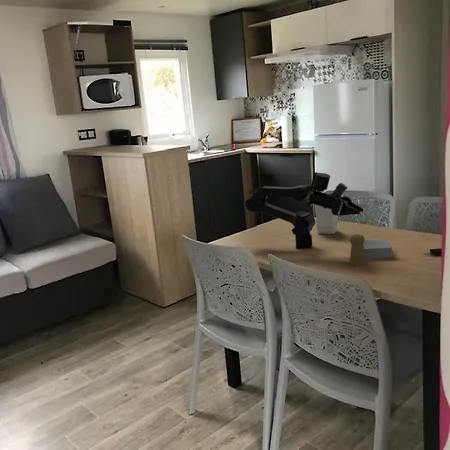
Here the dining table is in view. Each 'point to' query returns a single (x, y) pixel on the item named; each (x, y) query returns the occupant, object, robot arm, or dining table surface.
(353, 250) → the cork
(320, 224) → the skincare box
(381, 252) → the podium
